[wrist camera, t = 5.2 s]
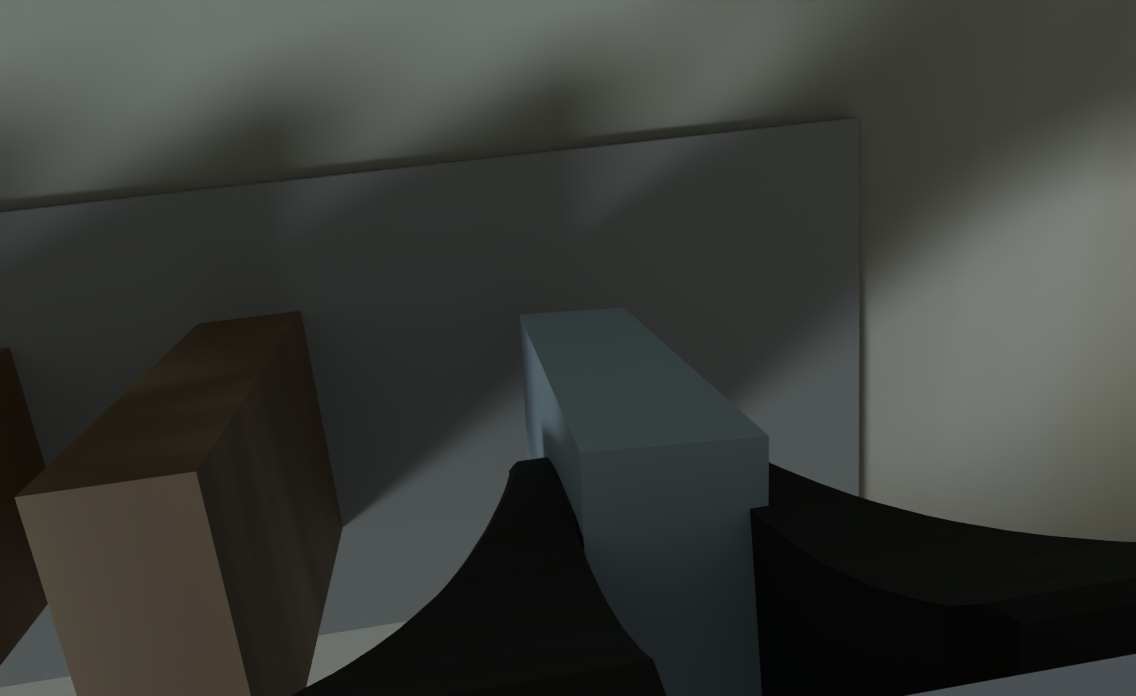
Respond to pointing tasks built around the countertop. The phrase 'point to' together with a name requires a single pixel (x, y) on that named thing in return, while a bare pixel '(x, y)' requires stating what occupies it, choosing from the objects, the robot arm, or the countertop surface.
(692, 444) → the tile
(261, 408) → the tile
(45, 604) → the tile
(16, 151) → the countertop surface
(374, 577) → the runner mat
